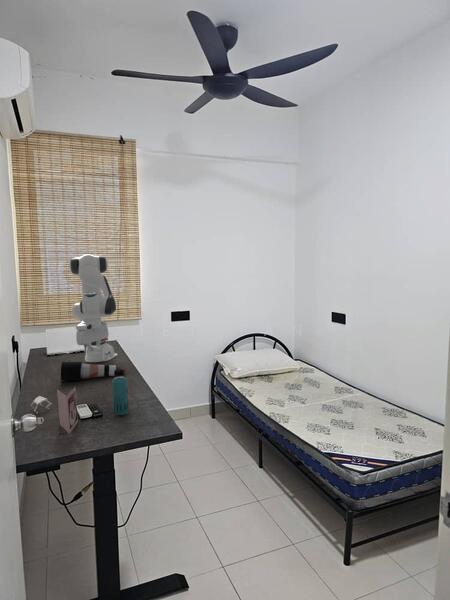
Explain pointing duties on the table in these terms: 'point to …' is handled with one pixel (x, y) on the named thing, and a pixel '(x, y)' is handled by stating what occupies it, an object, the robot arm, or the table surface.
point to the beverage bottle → (120, 393)
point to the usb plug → (95, 350)
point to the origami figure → (39, 400)
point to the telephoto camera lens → (85, 370)
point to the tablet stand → (62, 341)
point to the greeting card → (68, 410)
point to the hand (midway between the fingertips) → (94, 349)
